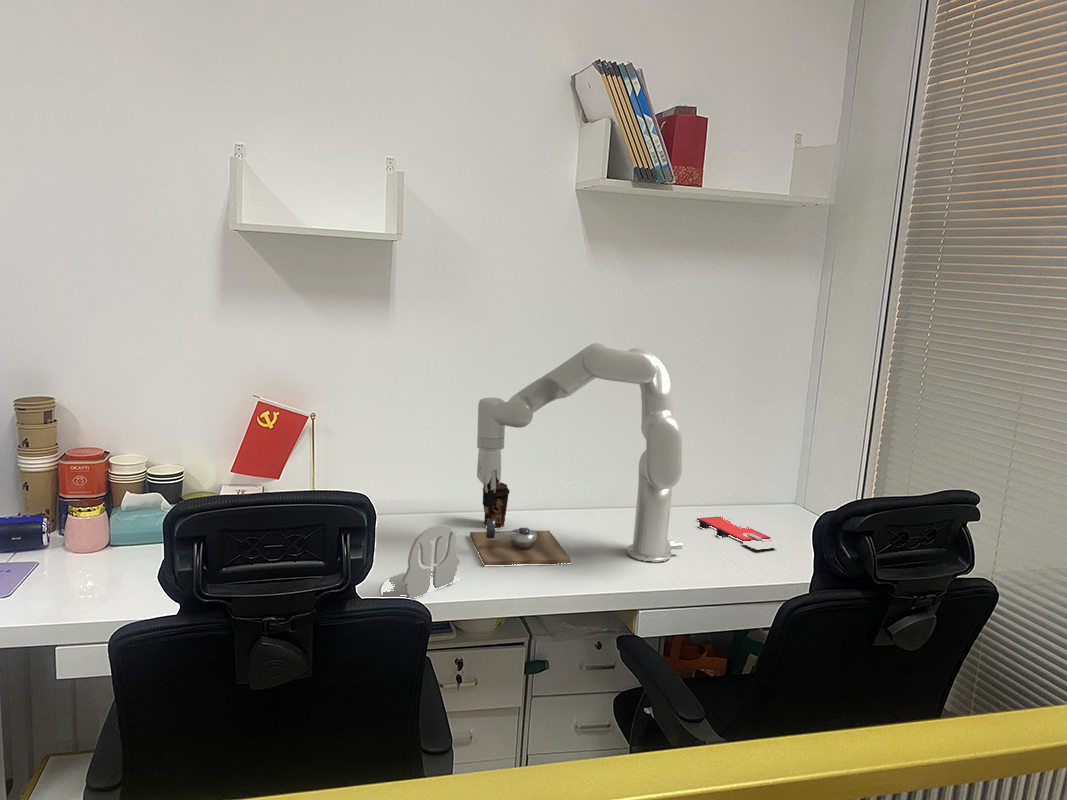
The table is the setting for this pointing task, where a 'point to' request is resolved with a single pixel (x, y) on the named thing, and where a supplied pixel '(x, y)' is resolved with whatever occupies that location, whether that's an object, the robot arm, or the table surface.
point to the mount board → (519, 550)
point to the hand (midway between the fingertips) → (488, 505)
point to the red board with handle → (731, 529)
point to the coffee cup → (498, 506)
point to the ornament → (427, 564)
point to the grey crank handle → (512, 535)
